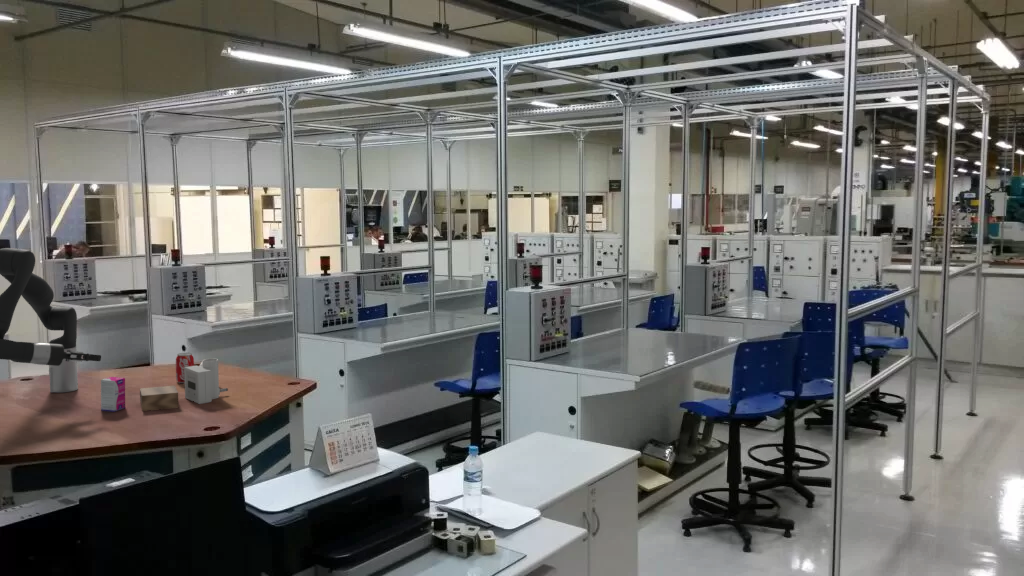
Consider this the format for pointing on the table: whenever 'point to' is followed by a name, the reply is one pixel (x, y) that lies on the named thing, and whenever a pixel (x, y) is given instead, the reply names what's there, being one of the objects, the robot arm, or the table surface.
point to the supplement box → (112, 394)
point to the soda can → (183, 365)
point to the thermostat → (203, 382)
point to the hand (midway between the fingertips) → (96, 357)
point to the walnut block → (158, 398)
